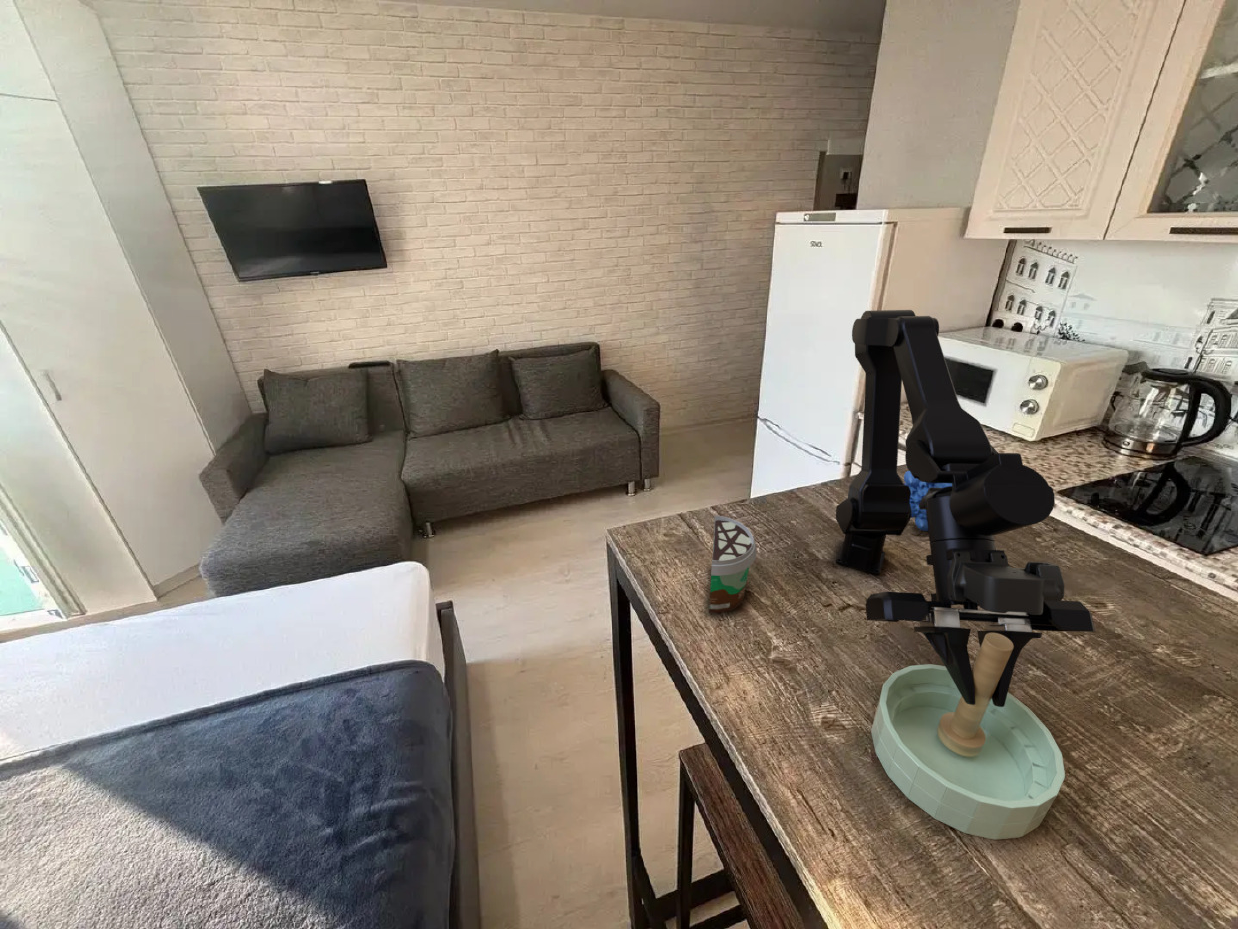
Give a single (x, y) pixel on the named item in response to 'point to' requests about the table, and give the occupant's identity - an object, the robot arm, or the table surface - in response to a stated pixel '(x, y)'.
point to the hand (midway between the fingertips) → (984, 705)
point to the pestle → (976, 698)
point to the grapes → (917, 494)
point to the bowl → (959, 785)
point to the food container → (730, 563)
